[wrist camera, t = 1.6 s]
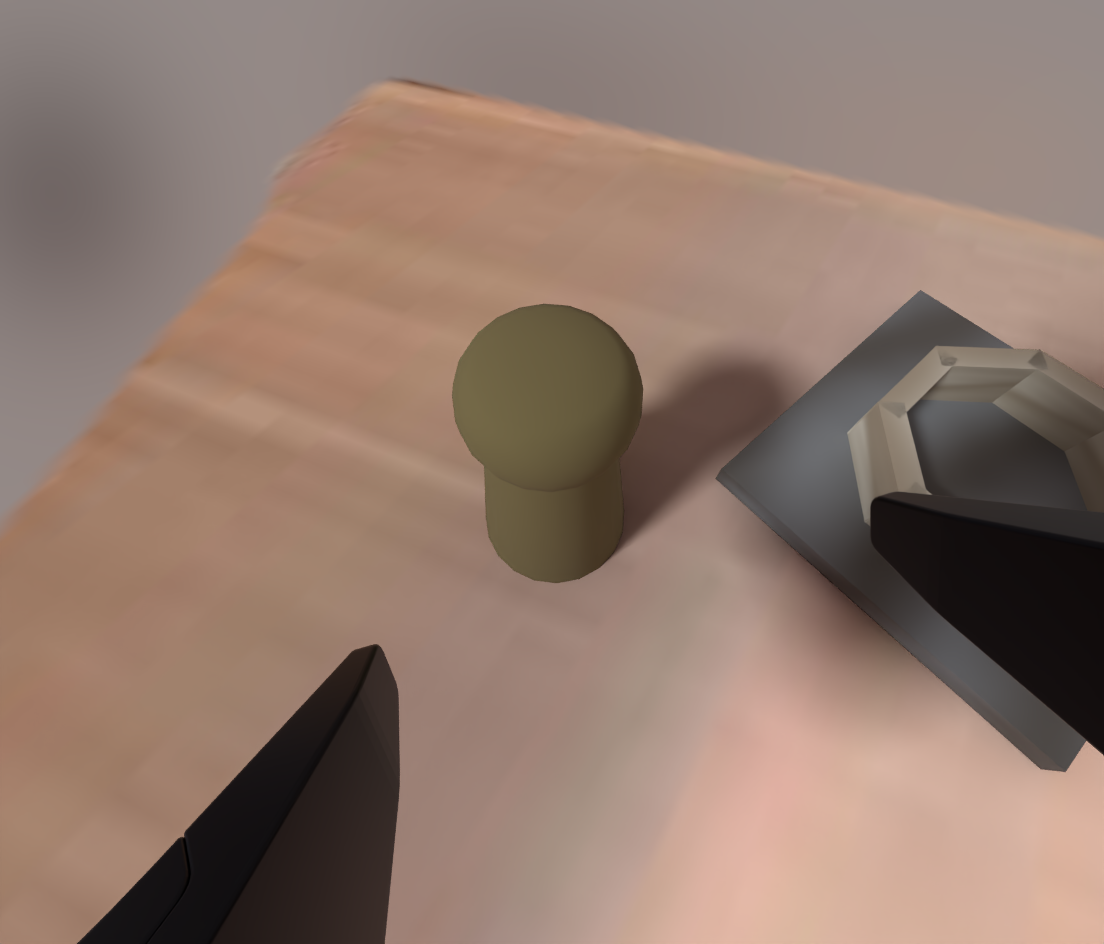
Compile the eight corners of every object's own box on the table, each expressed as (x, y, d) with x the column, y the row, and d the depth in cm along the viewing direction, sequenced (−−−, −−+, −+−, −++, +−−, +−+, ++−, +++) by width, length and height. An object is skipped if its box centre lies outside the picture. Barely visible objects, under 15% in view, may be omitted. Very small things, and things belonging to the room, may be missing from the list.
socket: (1220, 504, 22) (1329, 469, 19) (1040, 768, 18) (1140, 780, 15) (908, 304, 27) (953, 250, 24) (715, 478, 23) (739, 441, 20)
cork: (538, 430, 25) (518, 236, 15) (649, 496, 23) (712, 330, 13) (457, 532, 23) (371, 387, 13) (574, 612, 21) (581, 519, 11)
